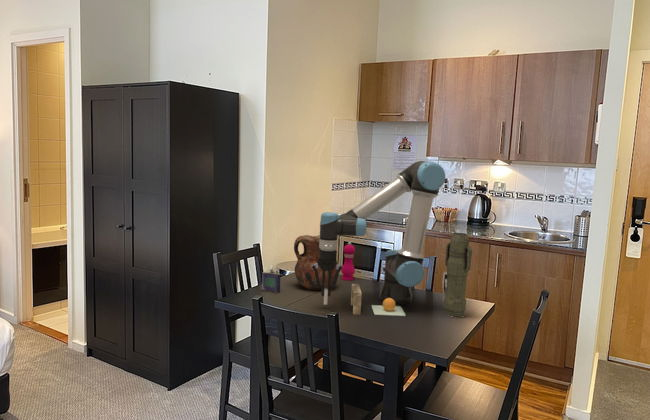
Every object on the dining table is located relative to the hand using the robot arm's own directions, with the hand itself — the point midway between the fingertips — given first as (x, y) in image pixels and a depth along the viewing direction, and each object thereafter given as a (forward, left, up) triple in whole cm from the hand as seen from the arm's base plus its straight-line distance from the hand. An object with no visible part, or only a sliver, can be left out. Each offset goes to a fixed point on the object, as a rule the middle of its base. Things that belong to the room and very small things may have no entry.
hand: (325, 303), depth 223 cm
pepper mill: (-13, -53, -2) cm, 55 cm away
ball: (-27, 0, +1) cm, 27 cm away
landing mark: (-27, 0, -2) cm, 27 cm away
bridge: (-13, 0, -2) cm, 13 cm away
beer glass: (-56, -11, -2) cm, 57 cm away
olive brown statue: (-55, +2, -2) cm, 55 cm away
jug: (+4, -35, -2) cm, 35 cm away
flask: (+25, -23, -2) cm, 34 cm away
